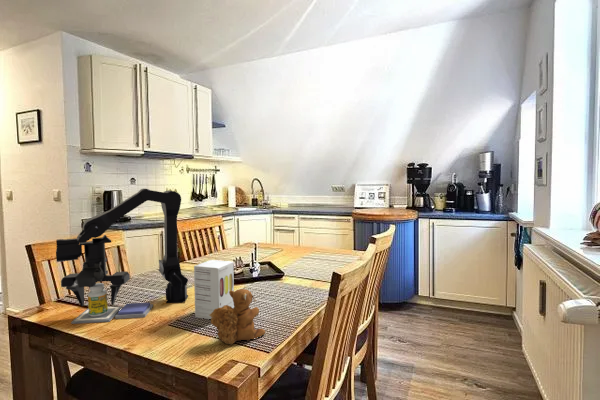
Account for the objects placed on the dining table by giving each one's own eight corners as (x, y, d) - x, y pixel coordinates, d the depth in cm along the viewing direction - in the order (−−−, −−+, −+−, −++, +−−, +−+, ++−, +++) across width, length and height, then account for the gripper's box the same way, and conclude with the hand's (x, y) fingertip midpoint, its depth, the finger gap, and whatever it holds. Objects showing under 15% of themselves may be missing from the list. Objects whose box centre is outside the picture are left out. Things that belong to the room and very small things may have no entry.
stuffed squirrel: (268, 334, 101) (267, 289, 100) (227, 353, 90) (226, 303, 89) (246, 324, 107) (245, 282, 106) (205, 341, 97) (204, 294, 96)
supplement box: (219, 321, 109) (217, 268, 108) (194, 317, 112) (192, 265, 111) (235, 310, 118) (234, 261, 117) (211, 307, 121) (210, 258, 120)
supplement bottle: (107, 309, 118) (105, 281, 117) (108, 314, 114) (107, 285, 113) (88, 313, 115) (86, 284, 114) (89, 318, 111) (87, 288, 110)
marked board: (122, 308, 121) (122, 306, 121) (109, 321, 110) (109, 319, 110) (88, 310, 119) (88, 307, 119) (71, 323, 108) (71, 321, 108)
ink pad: (153, 306, 122) (152, 301, 122) (145, 317, 113) (144, 311, 113) (125, 308, 121) (125, 303, 121) (115, 318, 112) (115, 313, 112)
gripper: (49, 265, 104) (52, 316, 105) (116, 262, 106) (118, 313, 107) (68, 256, 115) (71, 303, 116) (129, 254, 117) (131, 300, 118)
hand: (97, 304), depth 114 cm, fingers open, 9 cm apart
